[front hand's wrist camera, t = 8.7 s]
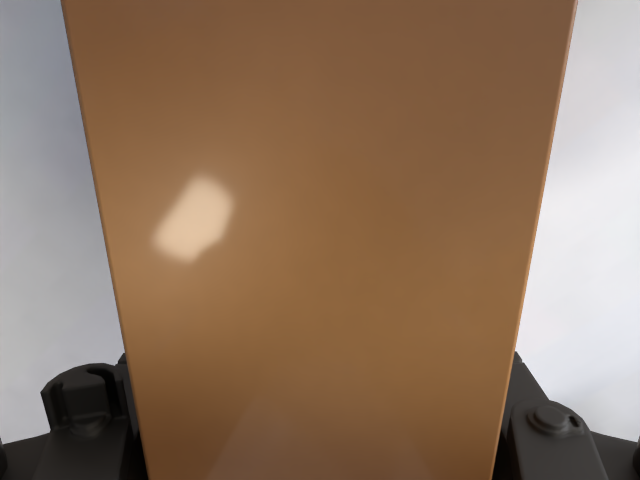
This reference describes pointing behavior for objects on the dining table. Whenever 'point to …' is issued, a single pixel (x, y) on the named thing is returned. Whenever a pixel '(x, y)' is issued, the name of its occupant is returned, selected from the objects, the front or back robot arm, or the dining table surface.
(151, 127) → the post
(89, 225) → the dining table surface
